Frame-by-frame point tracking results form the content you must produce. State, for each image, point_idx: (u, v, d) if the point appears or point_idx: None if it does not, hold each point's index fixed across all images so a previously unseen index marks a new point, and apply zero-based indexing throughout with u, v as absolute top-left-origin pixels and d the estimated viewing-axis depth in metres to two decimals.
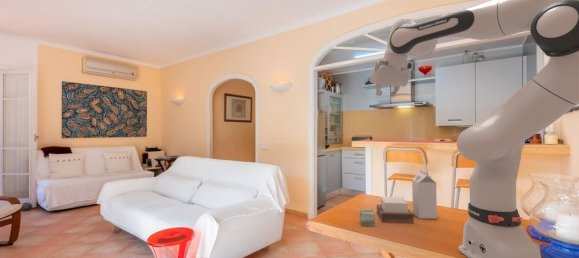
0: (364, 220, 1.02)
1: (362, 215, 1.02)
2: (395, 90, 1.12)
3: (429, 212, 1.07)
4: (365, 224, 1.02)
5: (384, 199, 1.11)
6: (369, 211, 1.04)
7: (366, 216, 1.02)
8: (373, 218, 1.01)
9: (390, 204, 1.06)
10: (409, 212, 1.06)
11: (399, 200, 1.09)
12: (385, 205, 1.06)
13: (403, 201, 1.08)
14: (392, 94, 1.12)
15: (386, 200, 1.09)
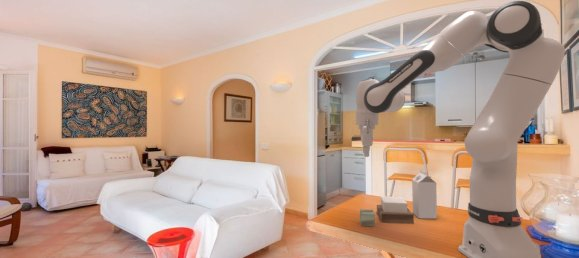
0: (364, 220, 1.02)
1: (362, 215, 1.02)
2: None
3: (429, 212, 1.07)
4: (365, 224, 1.02)
5: (384, 199, 1.11)
6: (369, 211, 1.04)
7: (366, 216, 1.02)
8: (373, 218, 1.01)
9: (389, 203, 1.06)
10: (409, 212, 1.06)
11: (399, 200, 1.09)
12: (384, 205, 1.07)
13: (402, 201, 1.08)
14: None
15: (386, 200, 1.09)
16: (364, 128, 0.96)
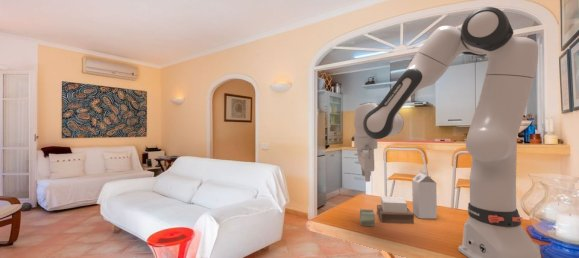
0: (364, 220, 1.02)
1: (362, 215, 1.02)
2: None
3: (429, 212, 1.07)
4: (365, 224, 1.02)
5: (384, 199, 1.11)
6: (369, 211, 1.04)
7: (366, 216, 1.02)
8: (373, 218, 1.01)
9: (389, 203, 1.06)
10: (409, 212, 1.06)
11: (399, 200, 1.09)
12: (384, 205, 1.07)
13: (402, 201, 1.08)
14: (364, 174, 1.08)
15: (386, 200, 1.09)
16: (365, 153, 0.95)
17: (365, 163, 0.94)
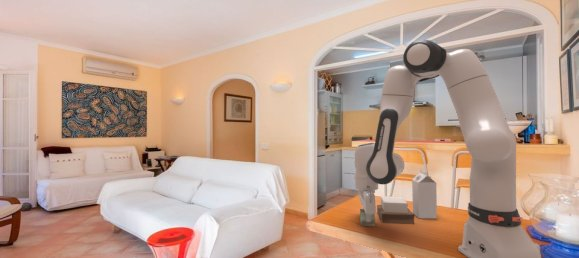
0: (364, 220, 1.02)
1: (362, 215, 1.02)
2: None
3: (429, 212, 1.07)
4: (365, 224, 1.02)
5: (384, 199, 1.11)
6: None
7: None
8: (373, 217, 1.01)
9: (390, 203, 1.06)
10: (410, 212, 1.05)
11: (399, 200, 1.09)
12: (385, 205, 1.07)
13: (402, 201, 1.07)
14: None
15: (386, 200, 1.09)
16: (366, 197, 0.95)
17: (366, 207, 0.94)
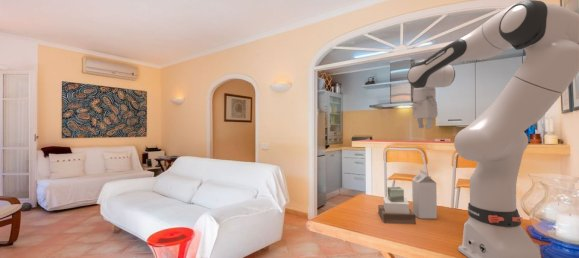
0: (394, 196, 1.07)
1: (392, 191, 1.07)
2: (421, 122, 1.22)
3: (429, 212, 1.07)
4: (395, 200, 1.07)
5: (386, 199, 1.10)
6: (397, 188, 1.09)
7: (396, 192, 1.07)
8: (402, 193, 1.07)
9: (391, 204, 1.05)
10: (411, 212, 1.05)
11: None
12: (386, 205, 1.06)
13: (404, 202, 1.06)
14: (421, 126, 1.21)
15: (388, 201, 1.08)
16: (429, 102, 1.08)
17: (429, 110, 1.07)
